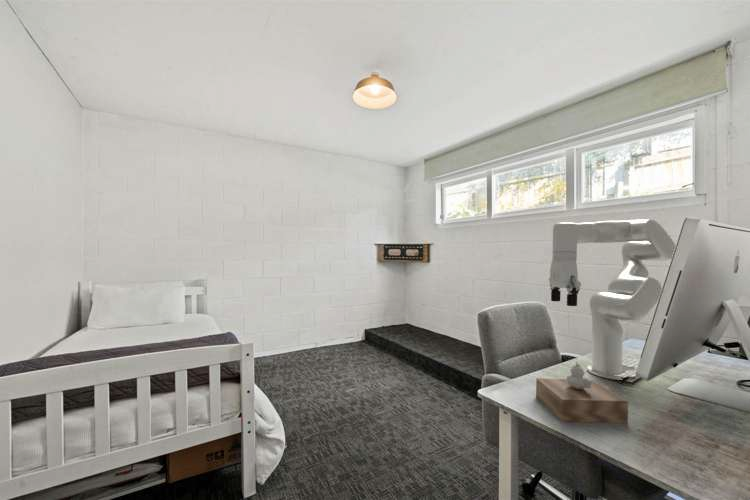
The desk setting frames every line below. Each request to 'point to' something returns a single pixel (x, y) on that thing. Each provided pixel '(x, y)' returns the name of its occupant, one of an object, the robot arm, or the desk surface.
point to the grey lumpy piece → (578, 378)
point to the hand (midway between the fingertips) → (563, 303)
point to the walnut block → (581, 402)
